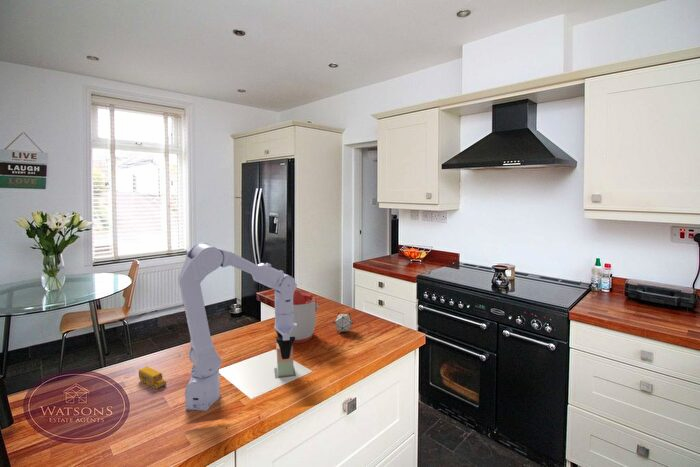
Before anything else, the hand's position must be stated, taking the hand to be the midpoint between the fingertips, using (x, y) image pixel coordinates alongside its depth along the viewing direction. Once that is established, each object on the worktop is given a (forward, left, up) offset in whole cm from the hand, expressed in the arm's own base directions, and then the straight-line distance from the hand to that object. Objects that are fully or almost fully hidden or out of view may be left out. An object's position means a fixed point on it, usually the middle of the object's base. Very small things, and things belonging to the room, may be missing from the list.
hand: (284, 353), depth 112 cm
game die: (+37, -15, -8) cm, 41 cm away
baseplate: (0, +7, -7) cm, 10 cm away
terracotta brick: (0, 0, -2) cm, 2 cm away
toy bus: (-9, +39, -8) cm, 40 cm away
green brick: (0, 0, -6) cm, 6 cm away
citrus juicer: (+28, +2, -8) cm, 29 cm away
